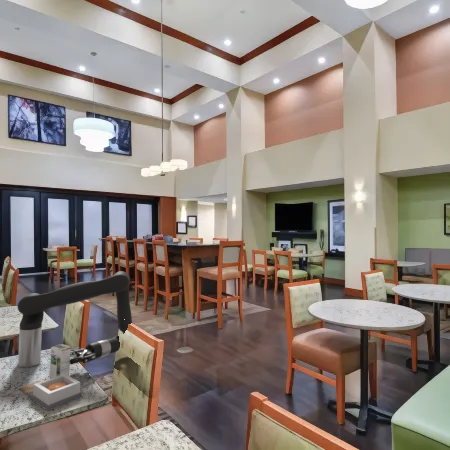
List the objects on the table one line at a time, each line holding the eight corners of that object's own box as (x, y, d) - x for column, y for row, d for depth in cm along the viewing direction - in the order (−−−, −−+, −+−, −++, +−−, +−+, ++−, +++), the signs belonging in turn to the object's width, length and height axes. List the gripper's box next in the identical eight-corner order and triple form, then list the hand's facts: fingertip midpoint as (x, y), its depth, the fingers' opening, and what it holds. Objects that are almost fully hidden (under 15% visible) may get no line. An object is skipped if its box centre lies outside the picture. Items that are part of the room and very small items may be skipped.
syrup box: (48, 381, 140) (50, 347, 140) (61, 376, 145) (62, 343, 146) (57, 384, 137) (58, 349, 138) (69, 379, 143) (71, 345, 143)
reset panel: (27, 396, 127) (28, 382, 127) (61, 384, 137) (61, 371, 137) (48, 410, 117) (48, 395, 117) (82, 396, 128) (82, 382, 128)
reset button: (45, 392, 126) (45, 386, 126) (60, 387, 131) (60, 380, 131) (52, 397, 122) (53, 391, 122) (68, 391, 127) (68, 385, 127)
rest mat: (18, 389, 133) (18, 387, 133) (39, 382, 139) (39, 380, 139) (27, 395, 128) (27, 393, 128) (48, 387, 134) (48, 386, 134)
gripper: (90, 338, 161) (57, 347, 148) (107, 344, 152) (74, 354, 139) (89, 354, 161) (56, 364, 148) (107, 361, 152) (73, 372, 139)
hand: (65, 359), depth 143 cm, fingers open, 8 cm apart
